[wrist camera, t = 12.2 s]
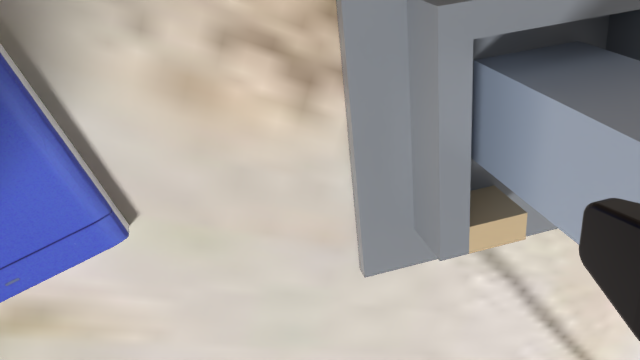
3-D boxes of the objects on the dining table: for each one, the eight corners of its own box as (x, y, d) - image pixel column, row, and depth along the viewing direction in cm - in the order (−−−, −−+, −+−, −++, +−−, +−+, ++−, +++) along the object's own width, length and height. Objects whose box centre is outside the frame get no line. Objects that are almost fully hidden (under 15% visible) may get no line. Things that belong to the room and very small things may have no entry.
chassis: (360, 269, 25) (385, 313, 22) (331, -55, 19) (360, -47, 16) (639, 199, 27) (691, 230, 24) (694, -106, 21) (770, -107, 18)
